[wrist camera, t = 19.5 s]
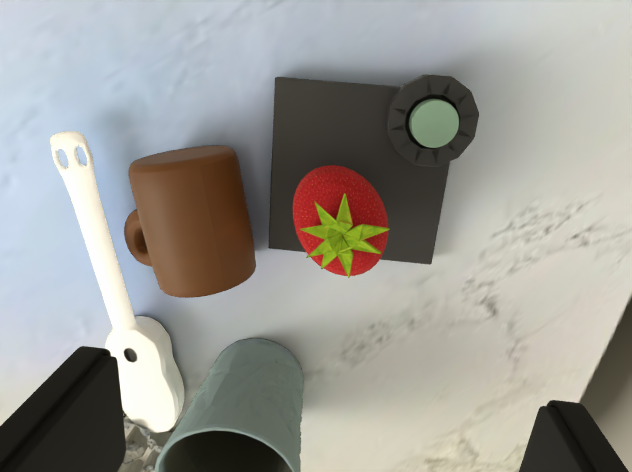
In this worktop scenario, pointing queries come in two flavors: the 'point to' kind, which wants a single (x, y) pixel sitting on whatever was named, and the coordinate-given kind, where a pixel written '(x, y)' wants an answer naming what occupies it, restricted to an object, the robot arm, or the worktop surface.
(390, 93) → the scale
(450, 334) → the worktop surface
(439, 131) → the button
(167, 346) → the spatula
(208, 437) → the green plant pot
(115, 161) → the worktop surface
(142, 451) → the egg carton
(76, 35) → the worktop surface
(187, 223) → the mug
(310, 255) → the strawberry
